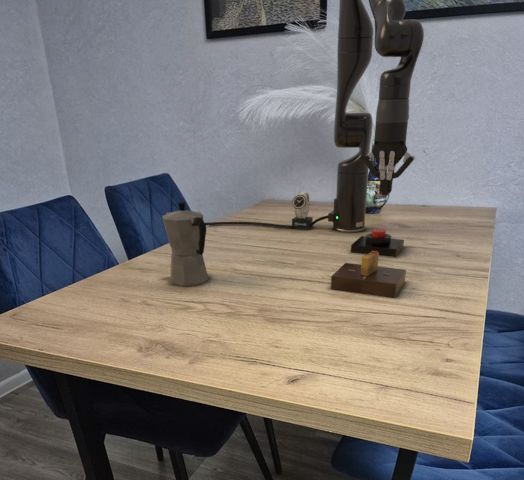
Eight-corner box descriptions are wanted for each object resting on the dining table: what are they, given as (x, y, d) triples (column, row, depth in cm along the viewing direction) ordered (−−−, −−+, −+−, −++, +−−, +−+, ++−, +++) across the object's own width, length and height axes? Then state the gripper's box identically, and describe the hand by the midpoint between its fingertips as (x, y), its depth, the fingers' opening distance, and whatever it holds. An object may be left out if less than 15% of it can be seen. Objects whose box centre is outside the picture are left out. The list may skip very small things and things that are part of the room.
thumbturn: (367, 276, 101) (368, 257, 99) (360, 274, 102) (361, 255, 100) (377, 270, 105) (379, 251, 103) (371, 268, 106) (372, 250, 104)
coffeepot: (158, 277, 114) (147, 201, 106) (191, 269, 119) (184, 195, 111) (192, 294, 103) (183, 210, 95) (227, 284, 108) (221, 204, 100)
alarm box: (350, 252, 127) (351, 238, 125) (360, 243, 135) (361, 229, 133) (395, 257, 123) (397, 242, 121) (403, 247, 130) (405, 233, 129)
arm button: (370, 238, 126) (370, 231, 126) (373, 234, 129) (374, 228, 128) (383, 239, 125) (384, 232, 124) (386, 235, 128) (387, 229, 127)
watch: (289, 230, 152) (289, 194, 147) (298, 224, 158) (298, 190, 153) (306, 231, 150) (306, 195, 145) (314, 225, 156) (315, 191, 151)
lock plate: (330, 288, 104) (331, 275, 102) (344, 275, 112) (345, 262, 110) (394, 297, 98) (396, 283, 97) (404, 282, 106) (406, 268, 104)
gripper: (360, 121, 113) (356, 196, 121) (417, 120, 108) (408, 199, 116) (368, 119, 119) (363, 191, 127) (422, 119, 113) (414, 193, 122)
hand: (385, 194), depth 121 cm, fingers closed
